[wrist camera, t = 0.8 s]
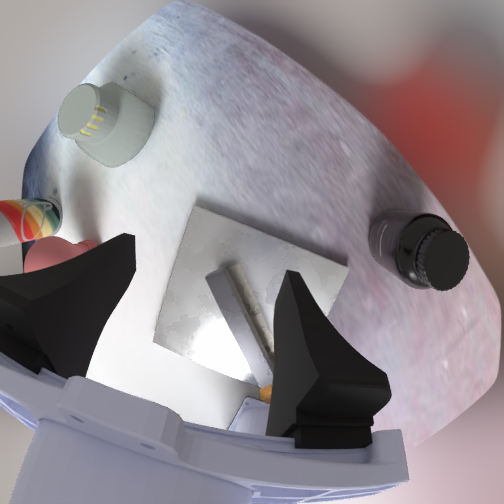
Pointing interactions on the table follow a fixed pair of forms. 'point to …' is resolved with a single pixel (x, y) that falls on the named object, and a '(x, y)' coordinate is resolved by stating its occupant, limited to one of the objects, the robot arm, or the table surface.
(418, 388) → the table surface
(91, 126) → the air freshener
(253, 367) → the swing arm
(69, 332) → the robot arm
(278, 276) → the square grey plate
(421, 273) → the supplement bottle
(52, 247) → the light bulb
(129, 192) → the table surface
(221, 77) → the table surface
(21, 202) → the lotion bottle
